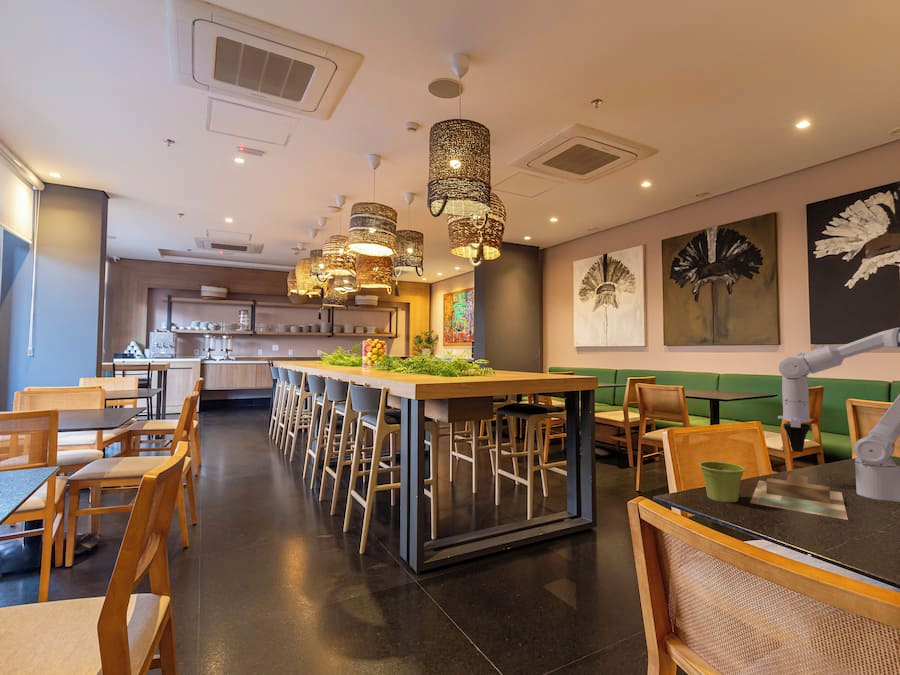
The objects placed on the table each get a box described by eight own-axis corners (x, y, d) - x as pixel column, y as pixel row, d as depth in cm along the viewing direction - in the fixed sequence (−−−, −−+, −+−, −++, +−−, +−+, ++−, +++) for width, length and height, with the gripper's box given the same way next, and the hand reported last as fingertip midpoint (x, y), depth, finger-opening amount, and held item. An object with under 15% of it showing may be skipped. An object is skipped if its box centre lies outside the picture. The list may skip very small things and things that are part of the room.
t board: (841, 496, 110) (841, 492, 110) (848, 524, 91) (847, 519, 91) (759, 484, 121) (759, 480, 121) (750, 507, 102) (749, 502, 102)
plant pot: (753, 510, 100) (752, 471, 100) (708, 507, 102) (707, 469, 102) (735, 497, 109) (734, 462, 110) (694, 495, 111) (693, 460, 112)
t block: (828, 491, 111) (828, 479, 111) (830, 503, 101) (829, 490, 102) (770, 482, 118) (769, 471, 118) (766, 493, 109) (766, 481, 109)
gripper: (778, 398, 128) (780, 444, 128) (775, 402, 117) (777, 453, 116) (809, 399, 124) (811, 448, 123) (809, 403, 113) (812, 457, 112)
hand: (797, 450), depth 119 cm, fingers closed
